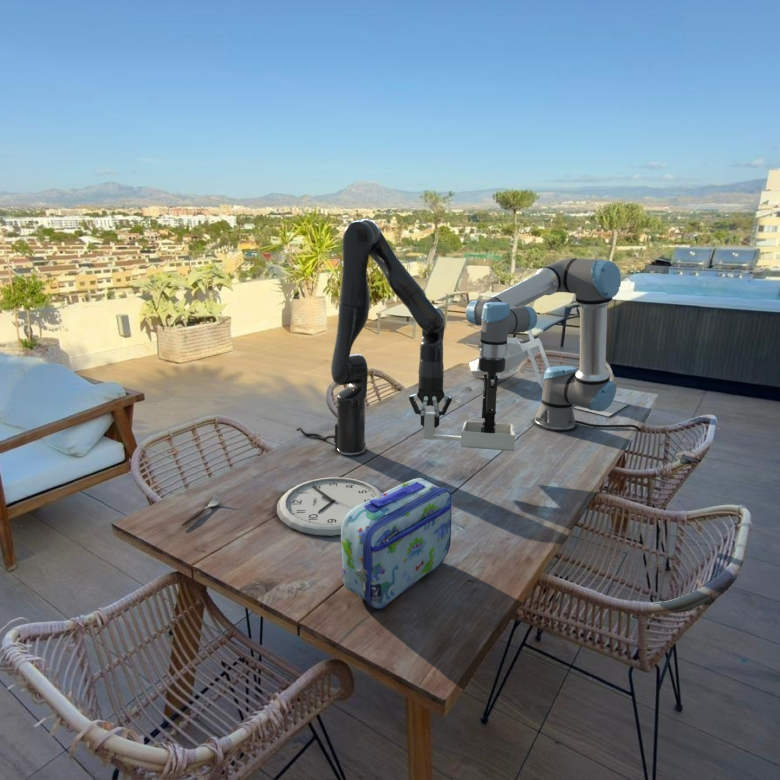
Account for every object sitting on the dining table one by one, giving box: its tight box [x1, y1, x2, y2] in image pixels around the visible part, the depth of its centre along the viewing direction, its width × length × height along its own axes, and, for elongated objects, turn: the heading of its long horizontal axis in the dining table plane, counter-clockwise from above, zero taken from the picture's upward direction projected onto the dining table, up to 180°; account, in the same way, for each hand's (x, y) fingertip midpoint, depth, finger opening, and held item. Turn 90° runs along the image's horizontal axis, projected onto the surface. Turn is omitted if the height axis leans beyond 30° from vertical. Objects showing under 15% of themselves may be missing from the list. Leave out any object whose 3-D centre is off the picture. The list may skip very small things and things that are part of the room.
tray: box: [423, 411, 516, 452], centre depth 161 cm, size 27×21×8 cm
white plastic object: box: [468, 329, 551, 390], centre depth 259 cm, size 37×45×31 cm
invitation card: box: [573, 400, 628, 418], centre depth 226 cm, size 21×1×15 cm
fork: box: [180, 491, 225, 527], centre depth 138 cm, size 3×16×2 cm, turn 160°
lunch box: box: [340, 477, 452, 610], centre depth 110 cm, size 26×11×21 cm, turn 134°
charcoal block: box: [481, 425, 495, 433], centre depth 156 cm, size 4×4×5 cm
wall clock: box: [276, 476, 383, 537], centre depth 143 cm, size 30×2×30 cm
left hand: (429, 426), depth 164 cm, fingers closed on tray, 3 cm apart
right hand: (487, 426), depth 157 cm, fingers open, 12 cm apart
